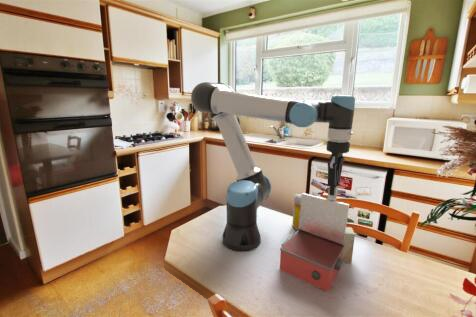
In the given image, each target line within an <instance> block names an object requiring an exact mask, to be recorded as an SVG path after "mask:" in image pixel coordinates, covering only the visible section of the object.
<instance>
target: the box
mask: <svg viewBox="0 0 476 317" xmlns="http://www.w3.org/2000/svg"><path fill="white" fill-rule="evenodd" d="M355 238H356V233H355V231H354V229H353V227H351V226H346V232H345V238H344V244H343V245H344V249H343V256H342V259H343V263H350V264H351V263H352V260H353V253H354V246H355V245H354V244H355Z"/></svg>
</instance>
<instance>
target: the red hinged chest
mask: <svg viewBox="0 0 476 317" xmlns="http://www.w3.org/2000/svg"><path fill="white" fill-rule="evenodd" d="M343 249H344V245H340V244H337V243H334V242H331V241H328V240H325V239H323V238H320V237H317V236H314V235H311V234H308V233H305V232H302V231H299V230H298V229H296V232H294V233H293V234H292V235H291V236H290V238H286V239H285V240H284V241H283V243H281V247H279V251H280V256H279V257H280V259H279V270H280V271H281V272H284V273H285V274H288V275H290V276H292V277H294V278H297V279H299V280H301V281H304V282H305V283H307V284H309V285H312V286H315V287H317V288H319V289H321V290H323V291H325V292H328V293H329V292H330V290H331V288H332V286H333V283H334V281H335V280H336V278H337V276H338V274H339V272H341V271H340V270H341V269H342V267H343V264H344V262H343V259H342V256H343Z"/></svg>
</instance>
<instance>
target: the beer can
mask: <svg viewBox="0 0 476 317" xmlns="http://www.w3.org/2000/svg"><path fill="white" fill-rule="evenodd" d="M303 193H304V192H297V193H295V195H294V197H293V198H294V199H293V211H292V227H293V228H295V229H296V230H298V227H299V218H300V209H301V200H302V194H303Z"/></svg>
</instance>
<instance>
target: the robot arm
mask: <svg viewBox="0 0 476 317" xmlns="http://www.w3.org/2000/svg"><path fill="white" fill-rule="evenodd" d="M190 100H191V103H192V105H193V107H194V108H195V109H196V111H199V112H200V113H203V114H204V113H205V114H209V117H210V120H211V121H213V122H216V124H217V126H218V127H217V128H219V131H220V134H221V136H222V139H223V142H224V144H225V146H226V149H227V151H228V153H229V156H230V158H231V159H230V160H231V161H232V164H233V166H234V168H235V171H236V173H237V175H236V177H235V180H236V181H234V182H231V183H230V184H229V185H228V186H227V189H226V195H225V199H226V200H225V202H226V225H225V227H224V230H223V232H222V237H221V238H222V244H223V246H224V247H225V248H226V249H228V250H230V251H234V252H235V253H245V252H251V251H254V250H255V249H258V247H259V246H260V245H261V242H262V241H261V237H262V236H261V233H260V231H259V226H258V223H257V217H258V215H257V214H258V212H257V211H258V208H260V206H261V205H262V204H263V203H264V202H265V201H266V200H267V199H268V197H269V196H270V194H271V192H272V183H271V180H270V178H269V177H268V176H267V175H265V174H264V173H263V170H262V169H261V168H260V167H258V166H257V165H256V163H255V160H254V157H253V155H252V153H251V150H250V148H249V146H248V143H247V141H246V138H245V135H244V133H243V130H242V128H241V126H240V123H239V120H238V118H237V116H244V117H250V118H254V119H255V118H256V119H262V120H267V121H273V122H280V123H286V124H290V125H293V126H295V127H298V128H307V127H309V126H310V127H311V126H312V125H313V124H314V123H324V124H325V123H327V124H328V130H327V137H326V138H327V139H328V140H327V141H326V151H327V152H330V153H331V154H330V156H329V160H328V161H329V162H327V184H326V187H328V195H327V199H330V200H334V201H337V197H338V189H339V187H340V186H341V183H340V182H341V177H342V171H343V167H344V166H343V165H344V161H345V156H344V154H348V153H349V152H350V145H351V142H350V141H351V138H352V136H353V134H354V132H353V129H352V128H353V122H354V115H355V105H356V103H355V102H356V97H355V96H353V95H352V94H351V95H349V94H347V95H345V94H344V95H343V94H342V95H340V94H339V95H338V94H333V95H332V96H331V98H330V100H309V99H304V100H298V99H297V100H296V99H288V98H281V97H274V96H268V95H267V96H265V95H257V94H251V93H245V92H236V91H235V90H234V89H233V88H232V87H231V86H230V85H228V84H225V83H222V82H206V81H205V82H199V83H198V84H197V85H195V86H194V87H193V88H192V91H191V95H190Z"/></svg>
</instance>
